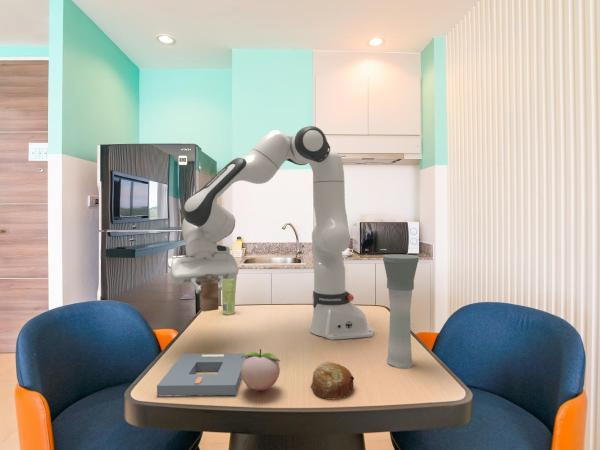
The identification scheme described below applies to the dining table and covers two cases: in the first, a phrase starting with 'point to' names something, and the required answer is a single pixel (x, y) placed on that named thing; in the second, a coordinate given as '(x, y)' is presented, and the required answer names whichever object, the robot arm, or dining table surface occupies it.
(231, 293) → the tube
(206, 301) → the wooden peg with knob
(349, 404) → the dining table surface
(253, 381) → the decorative fruit
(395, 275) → the container
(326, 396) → the bread roll
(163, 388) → the socket plate
